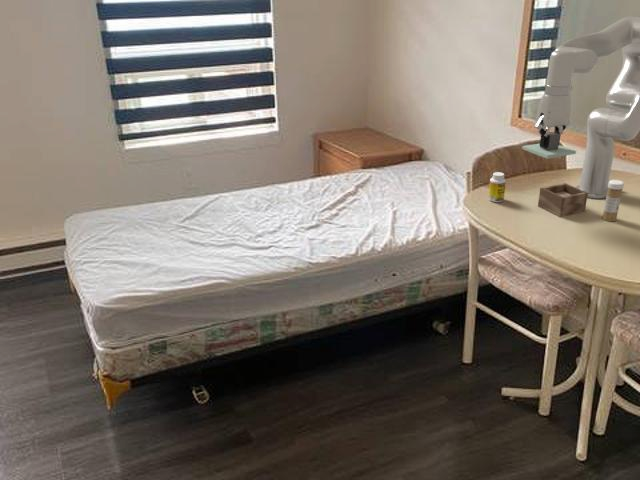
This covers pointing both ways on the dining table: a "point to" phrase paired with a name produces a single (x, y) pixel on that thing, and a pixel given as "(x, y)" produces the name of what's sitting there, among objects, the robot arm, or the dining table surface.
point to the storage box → (562, 199)
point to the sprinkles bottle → (612, 200)
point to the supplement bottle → (497, 187)
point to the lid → (550, 148)
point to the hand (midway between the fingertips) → (549, 145)
